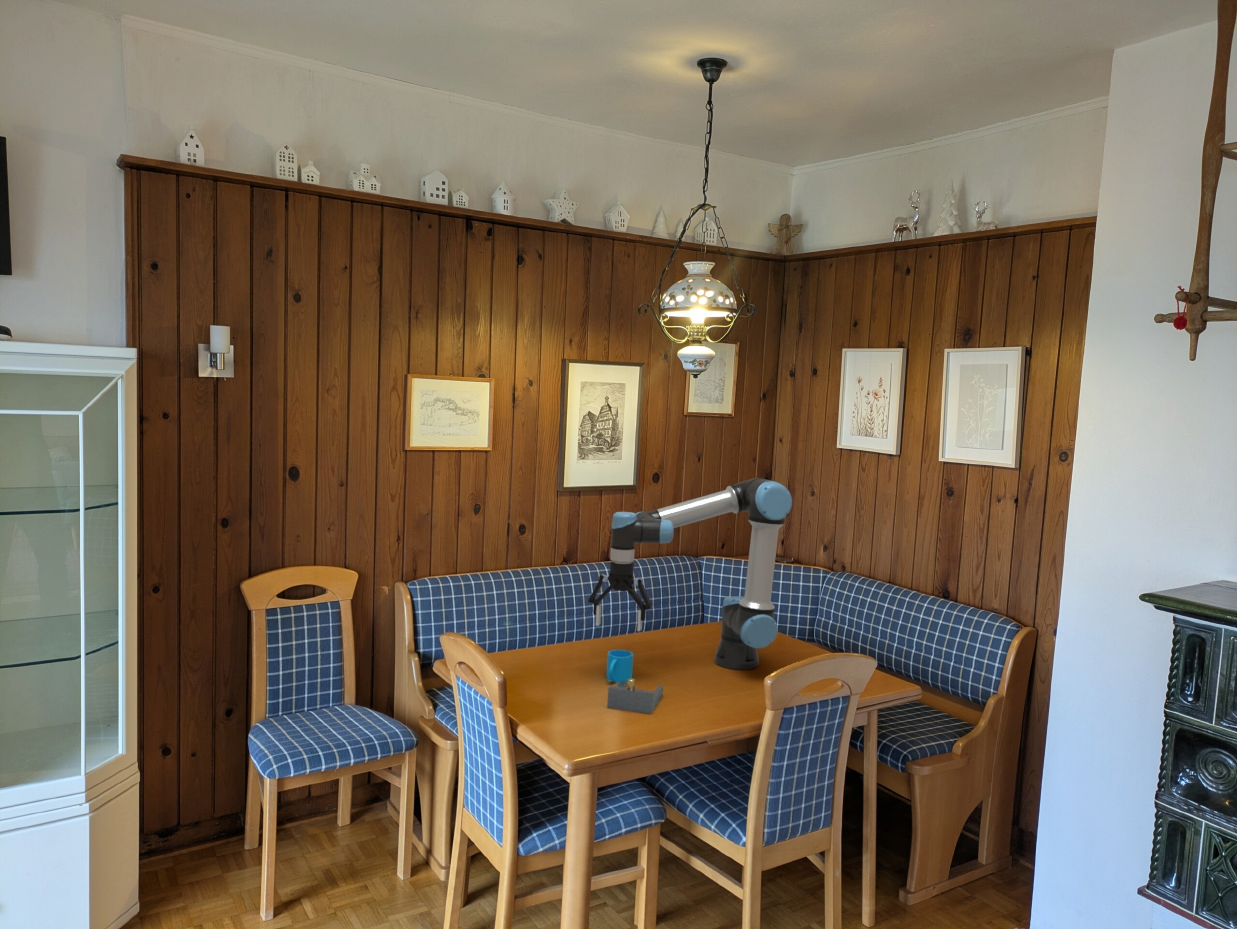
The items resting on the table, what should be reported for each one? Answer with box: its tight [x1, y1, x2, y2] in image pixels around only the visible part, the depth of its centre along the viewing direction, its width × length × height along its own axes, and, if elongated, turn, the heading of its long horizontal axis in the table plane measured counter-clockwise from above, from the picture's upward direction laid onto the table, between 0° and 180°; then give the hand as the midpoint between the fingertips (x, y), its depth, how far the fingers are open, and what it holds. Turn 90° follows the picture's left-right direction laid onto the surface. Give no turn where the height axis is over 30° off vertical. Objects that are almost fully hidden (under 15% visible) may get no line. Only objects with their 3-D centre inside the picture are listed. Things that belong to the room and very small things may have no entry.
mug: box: [606, 649, 634, 684], centre depth 277 cm, size 12×8×8 cm
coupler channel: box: [607, 677, 664, 715], centre depth 259 cm, size 13×16×9 cm
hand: (618, 627), depth 277 cm, fingers open, 13 cm apart
